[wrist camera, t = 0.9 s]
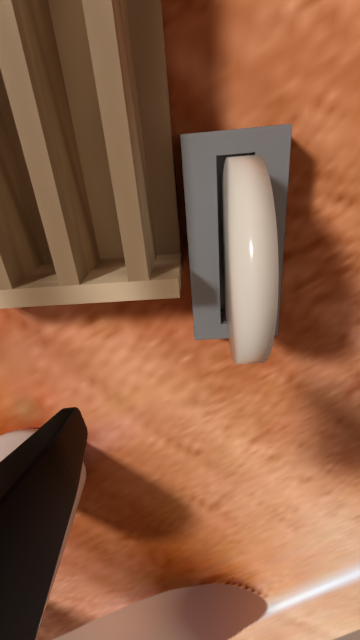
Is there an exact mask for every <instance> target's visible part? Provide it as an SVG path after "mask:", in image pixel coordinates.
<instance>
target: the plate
mask: <svg viewBox="0 0 360 640" xmlns="http://www.w3.org/2000/svg"><path fill="white" fill-rule="evenodd" d="M221 231H222V265H223V284H224V299H225V311H226V321H227V330H228V338H229V344H230V350H231V355H232V359H233V361H234V363H235V364H256V363H265V362H266V361H267V360H268V358H269V356H270V354H271V350H272V346H273V342H274V336H275V329H276V321H277V309H278V283H279V266H278V238H277V225H276V214H275V206H274V198H273V192H272V186H271V182H270V177H269V173H268V170H267V167H266V164H265V162H264V160H263V158H262V157H261V156H260V155H248V156H237V157H227V158H226V160H225V164H224V170H223V181H222V208H221Z"/></svg>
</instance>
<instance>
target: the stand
mask: <svg viewBox="0 0 360 640" xmlns="http://www.w3.org/2000/svg"><path fill="white" fill-rule="evenodd" d="M291 134H292V124H285V125H275V126H264V127H253V128H243V129H232V130H221V131H211V132H200V133H190V134H180V138H181V152H182V166H183V181H184V195H185V209H186V223H187V237H188V251H189V265H190V279H191V294H192V308H193V322H194V336H195V340H205V339H225V338H228V330H227V321H226V311H225V299H224V284H223V265H222V231H221V208H222V181H223V170H224V164H225V160H226V158H227V157H237V156H248V155H260V156H261V157H262V158H263V160H264V162H265V164H266V167H267V170H268V173H269V177H270V182H271V186H272V192H273V198H274V206H275V214H276V225H277V238H278V266H279V283H278V309H277V321H276V329H275V336H278V328H279V313H280V298H281V283H282V268H283V253H284V238H285V223H286V209H287V194H288V179H289V164H290V149H291Z"/></svg>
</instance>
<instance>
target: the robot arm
mask: <svg viewBox="0 0 360 640" xmlns="http://www.w3.org/2000/svg"><path fill="white" fill-rule="evenodd" d="M87 434H88V433H87V427H86V425H85V422H84V420H83V417H82V415H81V412H80V410H79V409H78V408H76V407H71V408H64V409H62V410H60V411H59V412H58V413H57V414H56V415H55V416H53V417H52V418H51V419H50V420H49V421H48V422H46V423H45V424H44V425H43V426H42V427H40V428H39V429H38V430H37V431H36V432H35V433H33V434H32V435H31V436H30V437H29V438H28V439H26V440H25V441H24V442H23V443H22V444H21V445H19V446H18V447H17V448H16V449H15V450H14V451H12V452H11V453H10V454H9V455H8V456H7V457H5V458H4V459H3V460H2V461H1V462H0V640H35V638H36V634H37V631H38V627H39V624H40V620H41V617H42V613H43V610H44V606H45V603H46V600H47V596H48V593H49V589H50V586H51V582H52V579H53V575H54V572H55V568H56V565H57V561H58V558H59V554H60V551H61V547H62V544H63V540H64V537H65V533H66V530H67V526H68V523H69V519H70V516H71V512H72V509H73V505H74V502H75V498H76V494H77V491H78V486H79V481H80V476H81V470H82V464H83V459H84V453H85V447H86V442H87Z"/></svg>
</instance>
